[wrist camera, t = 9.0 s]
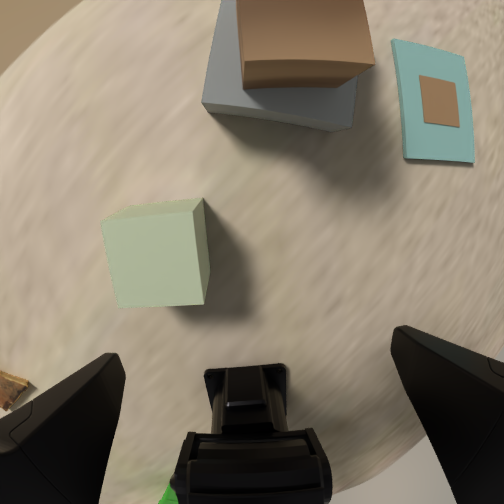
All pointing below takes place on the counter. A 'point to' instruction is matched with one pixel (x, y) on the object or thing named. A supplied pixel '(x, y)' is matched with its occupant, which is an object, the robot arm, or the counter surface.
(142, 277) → the sage cube
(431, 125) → the card
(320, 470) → the robot arm
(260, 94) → the slate block
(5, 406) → the shard
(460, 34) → the counter surface
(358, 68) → the walnut cube
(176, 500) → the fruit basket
